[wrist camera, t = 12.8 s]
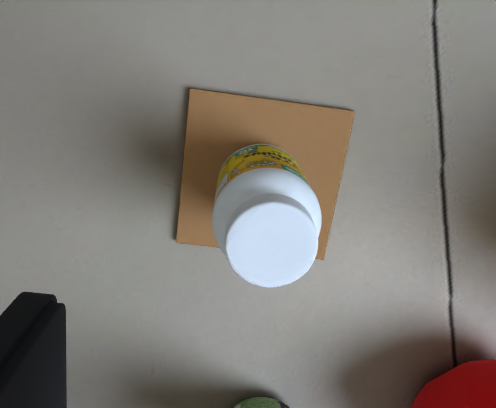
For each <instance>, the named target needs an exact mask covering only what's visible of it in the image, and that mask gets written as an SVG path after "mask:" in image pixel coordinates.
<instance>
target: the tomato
mask: <svg viewBox="0 0 496 408" xmlns="http://www.w3.org/2000/svg"><path fill="white" fill-rule="evenodd" d="M411 408H496V360H479V361H469V362H466V363H463V364H460V365H458V366H457V367H455V368H453V369H451V370H449V371H448V372H446V373H444V374H442V375H440V376H439V377H437V378H435V379H433V380H431V381H429V382H428V383H426V384H425V386H424V387H423V388H422V390H421V391H420V392H419V393H418V395H417V396H416V398H415V400H414V402H413V404H412V407H411Z"/></svg>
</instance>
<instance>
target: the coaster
mask: <svg viewBox="0 0 496 408" xmlns="http://www.w3.org/2000/svg"><path fill="white" fill-rule="evenodd" d="M354 114H355V111H352V110H345V109H338V108H331V107H324V106H316V105H309V104H302V103H295V102H288V101H280V100H273V99H266V98H259V97H252V96H244V95H237V94H230V93H223V92H216V91H208V90H201V89H194V88H190V92H189V103H188V115H187V126H186V137H185V148H184V159H183V170H182V181H181V192H180V203H179V214H178V226H177V237H176V243H183V244H192V245H200V246H209V247H217V248H220V247H219V246H218V244H217V242H216V239H215V236H214V233H213V227H212V214H213V207H214V200H215V193H216V186H217V180H218V175H219V172H220V170H221V167H222V166H223V164H224V162H225V161H226V160H227V159H228V157H229V156H230V155H232V154H233V153H234V152H236V151H238V150H239V149H242V148H244V147H247V146H250V145H254V144H269V145H273V146H276V147H279V148H281V149H283V150H284V151H286V152H287V153H288V154H290V155H291V156H292V158H293V159H294V160H295V161H296V163H297V165H298V166H299V168H300V169H301V171H302V173H303V175H304V176H305V178H306V180H307V181H308V183H309V185H310V187H311V188H312V190H313V191H314V193H315V194H316V196H317V199H318V202H319V205H320V209H321V216H322V222H321V230H320V234H319V237H318V250H317V255H316V258H315V259H320V260H324V256H325V251H326V246H327V241H328V237H329V232H330V227H331V223H332V218H333V213H334V209H335V204H336V199H337V194H338V190H339V185H340V180H341V176H342V171H343V166H344V161H345V157H346V152H347V147H348V143H349V138H350V133H351V129H352V124H353V119H354Z"/></svg>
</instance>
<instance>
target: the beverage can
mask: <svg viewBox="0 0 496 408" xmlns="http://www.w3.org/2000/svg"><path fill="white" fill-rule="evenodd" d="M233 408H289V407H288V406H287V405H285V404H284V403H282V402H280V401H278V400H275V399H272V398H267V397H253V398H249V399H246V400H243V401H241V402H240V403H238V404H236V405H235V406H234V407H233Z"/></svg>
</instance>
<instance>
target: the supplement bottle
mask: <svg viewBox="0 0 496 408" xmlns="http://www.w3.org/2000/svg"><path fill="white" fill-rule="evenodd" d="M321 222H322V216H321V209H320V205H319V202H318V199H317V196H316V194H315V193H314V191H313V190H312V188H311V187H310V185H309V183H308V181H307V180H306V178H305V176H304V175H303V173H302V171H301V169H300V168H299V166H298V165H297V163H296V161H295V160H294V159H293V158H292V156H291V155H290V154H288V153H287V152H286V151H284V150H283V149H281V148H279V147H276V146H273V145H269V144H254V145H250V146H247V147H244V148H242V149H239V150H238V151H236V152H234V153H233V154H232V155H230V156H229V157H228V159H227V160H226V161H225V162H224V164H223V166H222V167H221V170H220V172H219V175H218V180H217V186H216V193H215V200H214V207H213V214H212V227H213V233H214V236H215V239H216V242H217V244H218V246H219V247H220V249H221V250H222V252H223V253H224V254H225V255H226V256H227V259H228V261H229V264H230V265H231V267H232V268H233V270H234V271H235V272H236V273H237V274H238V275H239V276H240V277H241V278H243V279H244V280H246V281H248V282H250V283H252V284H255V285H258V286H262V287H278V286H283V285H287V284H289V283H292V282H294V281H295V280H297V279H299V278H300V277H301V276H303V275H304V274H305V273H306V272H307V271H308V270H309V268H310V267H311V266H312V264H313V262H314V260H315V258H316V255H317V250H318V237H319V234H320V230H321Z"/></svg>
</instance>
